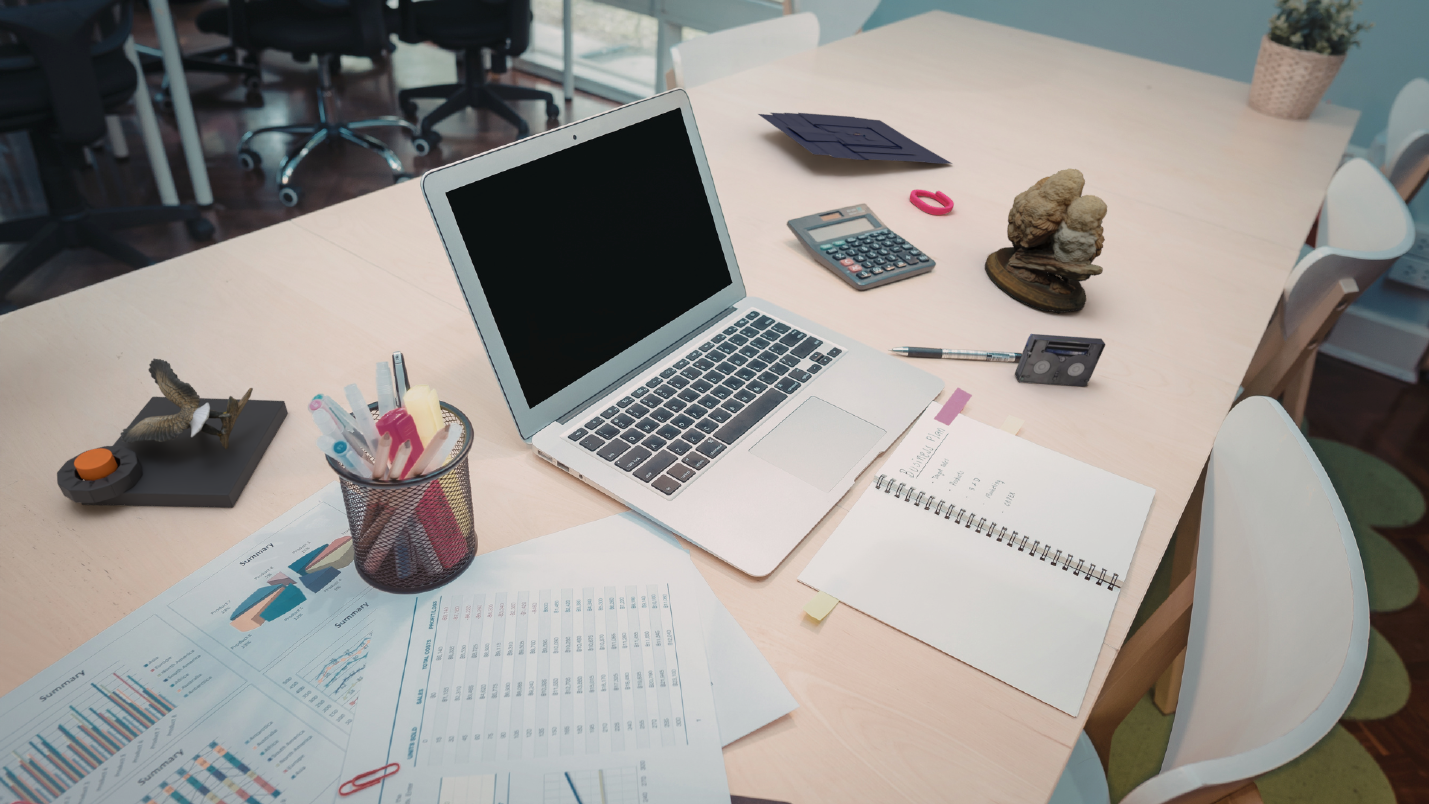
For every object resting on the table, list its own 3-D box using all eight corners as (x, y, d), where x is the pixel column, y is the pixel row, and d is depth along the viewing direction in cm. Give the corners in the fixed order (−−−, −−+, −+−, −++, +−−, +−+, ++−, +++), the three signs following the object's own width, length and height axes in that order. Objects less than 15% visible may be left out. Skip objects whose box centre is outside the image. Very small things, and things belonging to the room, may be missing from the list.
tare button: (73, 481, 66) (66, 468, 65) (91, 459, 68) (84, 447, 67) (107, 481, 66) (101, 469, 66) (123, 460, 68) (118, 448, 68)
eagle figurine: (259, 408, 76) (157, 376, 75) (250, 372, 71) (139, 336, 69) (219, 479, 72) (110, 448, 71) (205, 447, 67) (87, 411, 65)
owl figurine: (1111, 315, 109) (1165, 195, 99) (1040, 324, 106) (1087, 200, 95) (1030, 253, 122) (1070, 142, 112) (964, 259, 119) (999, 145, 108)
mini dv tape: (1081, 379, 96) (1100, 336, 92) (1086, 386, 95) (1105, 344, 91) (1014, 374, 96) (1030, 331, 92) (1018, 382, 94) (1034, 338, 91)
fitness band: (959, 214, 132) (962, 205, 131) (929, 217, 130) (932, 208, 129) (931, 194, 138) (933, 185, 137) (902, 196, 136) (904, 188, 135)
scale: (57, 516, 66) (41, 489, 65) (143, 408, 78) (133, 383, 76) (227, 519, 68) (217, 493, 66) (288, 413, 79) (281, 388, 77)
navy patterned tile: (749, 125, 154) (753, 105, 152) (875, 133, 167) (880, 115, 165) (814, 174, 137) (820, 153, 135) (948, 178, 150) (955, 159, 148)
